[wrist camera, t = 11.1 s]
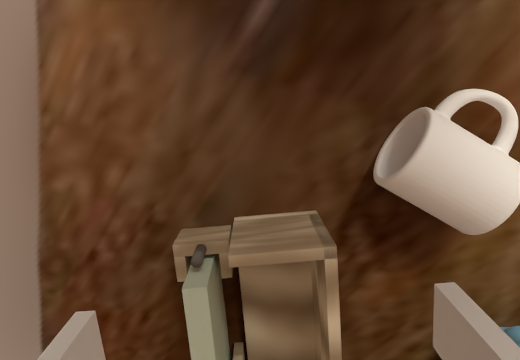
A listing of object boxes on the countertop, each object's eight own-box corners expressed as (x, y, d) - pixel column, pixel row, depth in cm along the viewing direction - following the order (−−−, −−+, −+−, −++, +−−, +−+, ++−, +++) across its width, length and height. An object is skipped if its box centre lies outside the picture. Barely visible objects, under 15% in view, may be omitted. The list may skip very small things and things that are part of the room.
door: (189, 243, 40) (169, 290, 30) (217, 241, 40) (206, 287, 30) (203, 357, 43) (189, 433, 33) (230, 355, 43) (224, 430, 33)
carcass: (180, 221, 40) (156, 261, 30) (316, 210, 40) (336, 246, 30) (201, 381, 43) (186, 462, 34) (324, 370, 43) (345, 449, 34)
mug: (442, 220, 40) (488, 249, 32) (363, 174, 39) (390, 193, 31) (511, 119, 38) (578, 124, 30) (429, 68, 37) (477, 59, 29)
